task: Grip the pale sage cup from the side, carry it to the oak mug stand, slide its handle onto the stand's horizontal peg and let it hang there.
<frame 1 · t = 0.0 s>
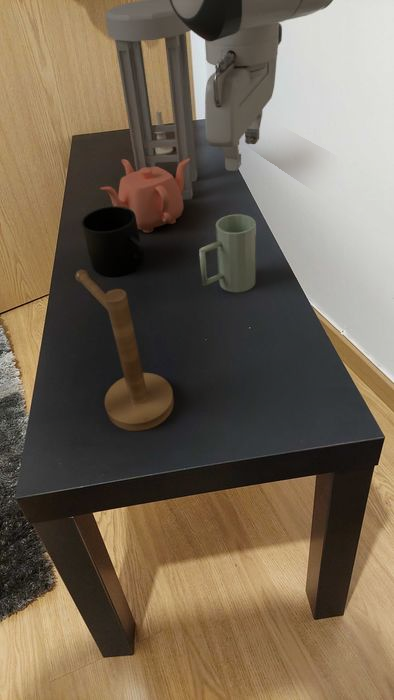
hand: (243, 155, 71), 22 cm above the table, tool pointing down, fingers open, 8 cm apart
mug: (123, 265, 94), on the table
mug stand: (140, 404, 68), on the table
teapot: (150, 219, 106), on the table
cup: (237, 281, 87), on the table
candle: (163, 152, 133), on the table
stool: (170, 189, 116), on the table
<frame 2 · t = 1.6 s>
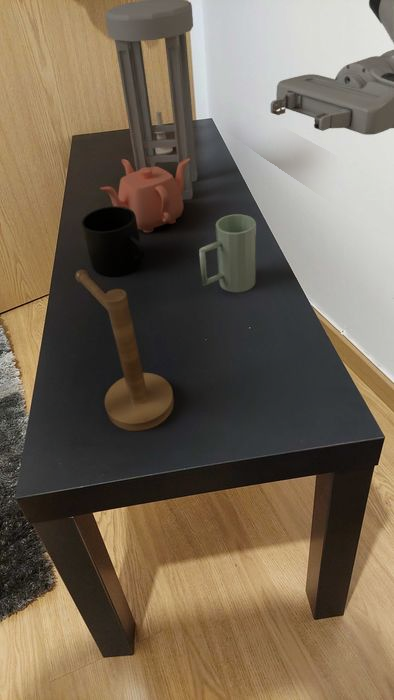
hand: (294, 116, 75), 24 cm above the table, tool horizontal, fingers open, 8 cm apart
nothing on the table moved.
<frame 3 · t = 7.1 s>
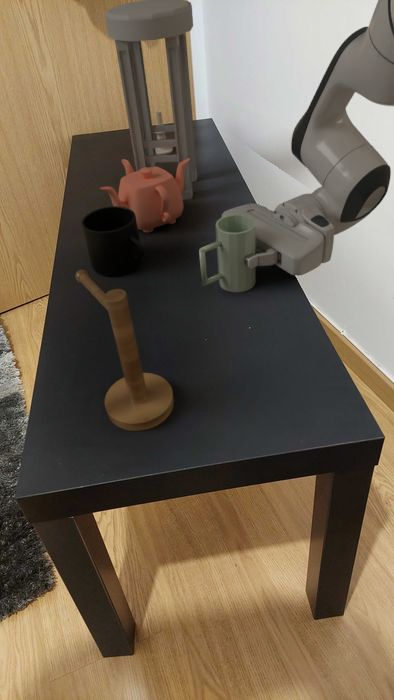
hand: (232, 253, 83), 6 cm above the table, tool horizontal, fingers closed on cup, 6 cm apart
cup: (237, 281, 87), on the table, touching gripper
everything else where it was.
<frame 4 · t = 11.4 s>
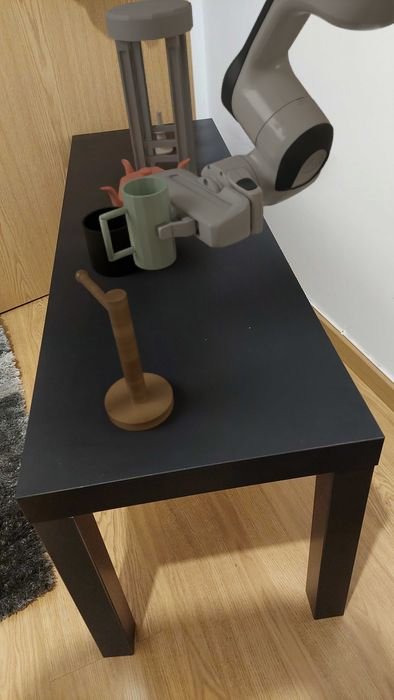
hand: (144, 223, 70), 17 cm above the table, tool horizontal, fingers closed on cup, 6 cm apart
cup: (155, 258, 74), point 11 cm above the table, touching gripper
everything else where it was.
when the fingers open (13 cm above the table, at t = 16.1 s): cup drops 1 cm and tips over, resting on mug stand.
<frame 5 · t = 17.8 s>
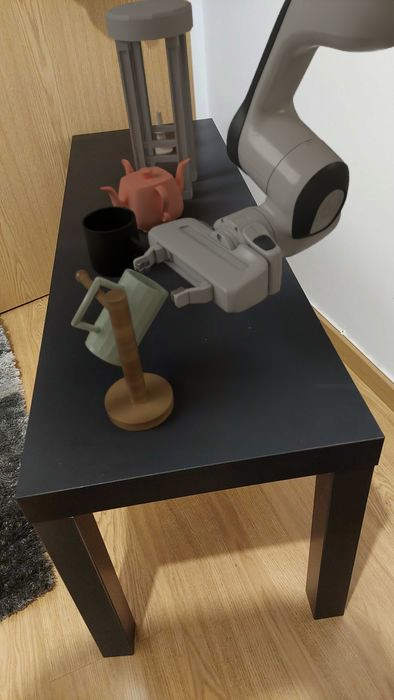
hand: (154, 283, 65), 13 cm above the table, tool horizontal, fingers open, 8 cm apart
cup: (106, 353, 67), point 6 cm above the table, tilted 44°, touching mug stand
everything else where it was.
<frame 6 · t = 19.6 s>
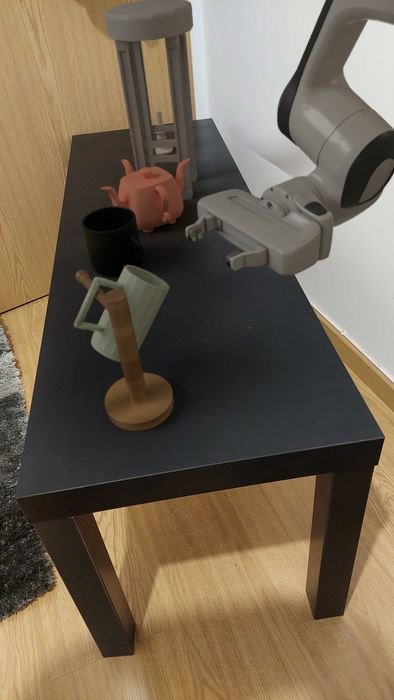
hand: (208, 248, 67), 15 cm above the table, tool horizontal, fingers open, 8 cm apart
cup: (112, 350, 67), point 6 cm above the table, tilted 38°, touching mug stand
everything else where it was.
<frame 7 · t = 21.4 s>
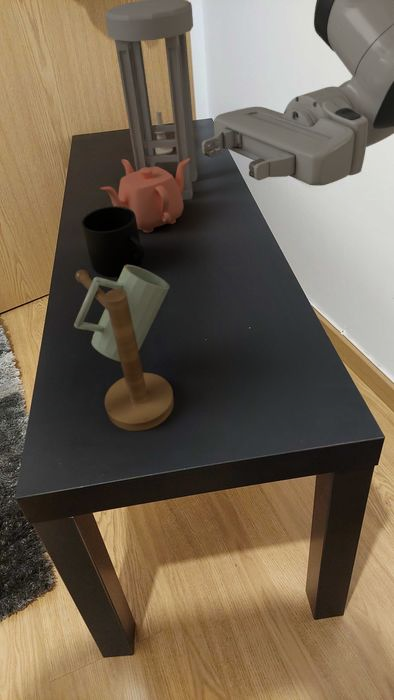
hand: (227, 160, 60), 26 cm above the table, tool horizontal, fingers open, 8 cm apart
nothing on the table moved.
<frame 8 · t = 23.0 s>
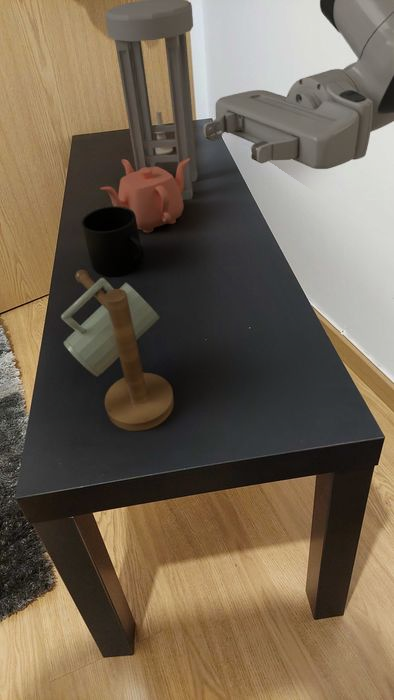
hand: (229, 143, 59), 28 cm above the table, tool horizontal, fingers open, 8 cm apart
cup: (80, 359, 65), point 7 cm above the table, tilted 65°, touching mug stand
everything else where it was.
at the end: cup touching mug stand; cup point 5.9 cm above the table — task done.
